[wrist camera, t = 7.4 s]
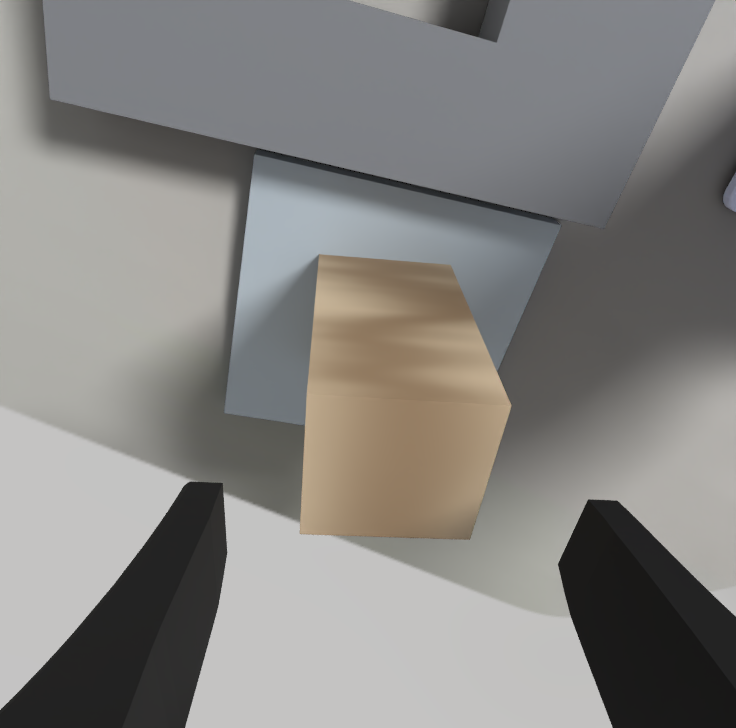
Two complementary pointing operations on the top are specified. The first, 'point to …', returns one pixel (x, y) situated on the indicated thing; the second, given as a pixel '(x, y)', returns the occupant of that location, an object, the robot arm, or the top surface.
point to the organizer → (395, 86)
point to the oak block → (397, 403)
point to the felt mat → (365, 240)
